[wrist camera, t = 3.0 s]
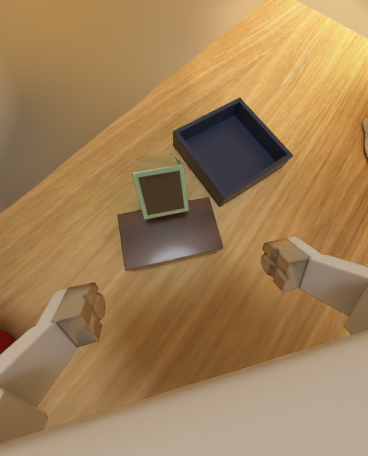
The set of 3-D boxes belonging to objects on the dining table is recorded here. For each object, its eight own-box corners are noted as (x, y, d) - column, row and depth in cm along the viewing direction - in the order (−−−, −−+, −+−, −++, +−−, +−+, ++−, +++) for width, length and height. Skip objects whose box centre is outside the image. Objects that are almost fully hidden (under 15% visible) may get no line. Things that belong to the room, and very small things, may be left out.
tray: (233, 113, 32) (239, 97, 29) (281, 167, 30) (293, 155, 27) (173, 145, 30) (172, 131, 27) (219, 207, 27) (225, 198, 24)
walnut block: (215, 252, 25) (223, 248, 21) (133, 271, 24) (125, 270, 20) (203, 208, 27) (209, 196, 23) (126, 223, 26) (117, 214, 22)
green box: (185, 225, 26) (192, 197, 17) (151, 232, 26) (137, 207, 16) (172, 168, 29) (170, 114, 19) (140, 173, 28) (122, 121, 18)
